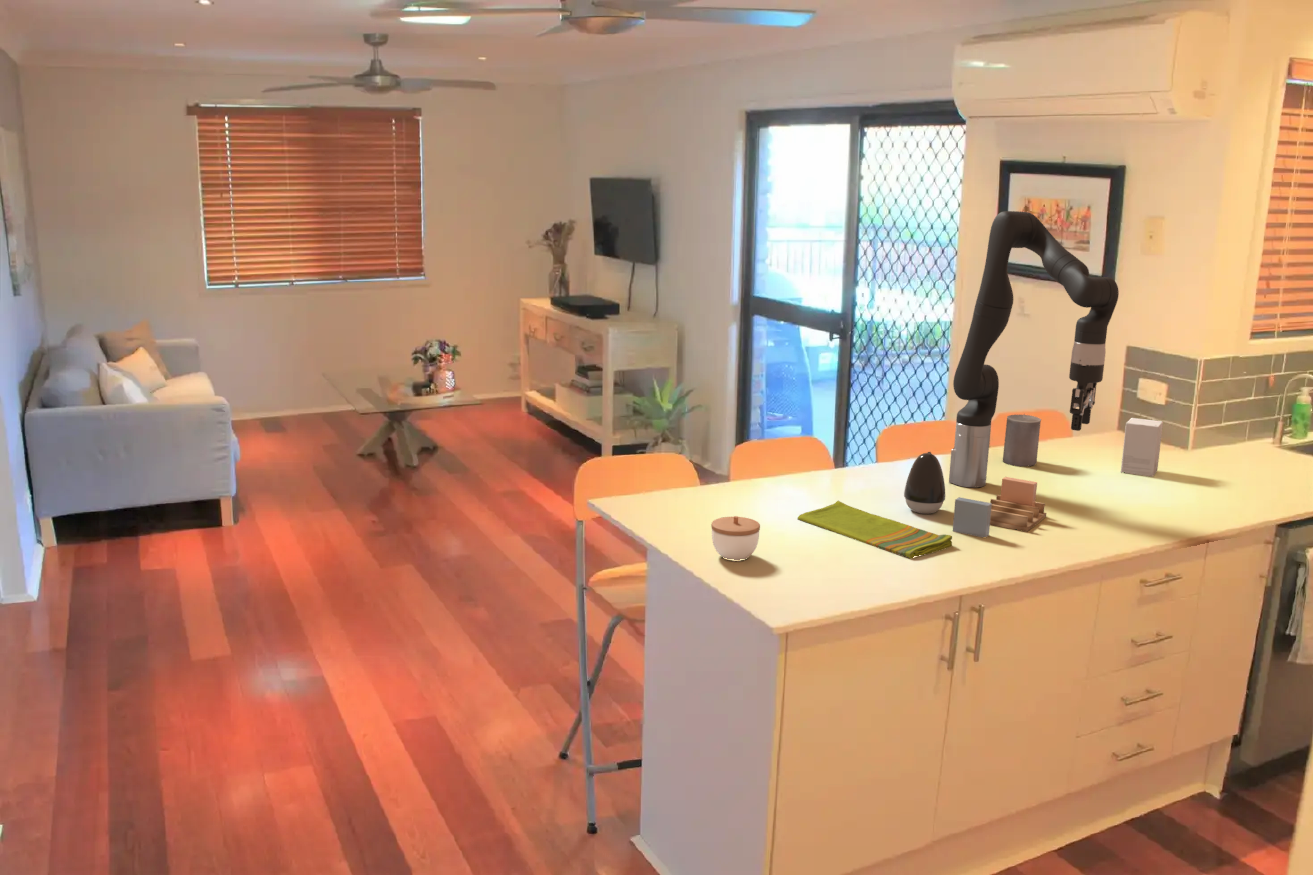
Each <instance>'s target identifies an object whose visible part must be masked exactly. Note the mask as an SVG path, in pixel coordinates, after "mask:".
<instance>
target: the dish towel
mask: <svg viewBox="0 0 1313 875" xmlns="http://www.w3.org/2000/svg"><path fill="white" fill-rule="evenodd" d="M797 520H798V521H802V522H804V523H807V524H810V525H813V526H816V527H818V528H822V529H825V530H827V529H828V531H830V532H833V533H835V532H836V534H839V535H841V534H842V536H845V537H847V538H850V539H852V538H853V539H852V540H855V539H856V540H855V541H858V542H861V543H864V544H867V545H870V546H873V547H875V546H876V547H875V548H878V547H879V549H881V550H884V551H887V552H889V553H892V552H893V554H895V553H896V555H898V554H900V555H899V556H901V555H903V556H902V557H905V556H907V557H906V558H908V557H909V558H908V559H910V558H912V559H914V558H913V557H914V556H919V555H923V556H925V555H924V554H926V555H929V554H933V553H936V552H939V550H940V551H943V550H945V548H946V549H949V548H952V547H953V542H952V540H953V535H951V534H937V533H934V532H930V531H927V530H924V529H921V528H918V527H914V526H912V525H909V524H905V523H901V522H899V521H896V520H894V519H891V518H887V517H883V516H880V515H876V514H873V513H870V512H868V511H864V510H862V509H859V508H857V507H854V506H851V505H848V504H846V503H844V502H842V501H840V500H836V501H835V503H833V504H829V505H826V506H824V507H821V508H818V509H813V510H811V511H807V512H803V513H801V514H799V515H798V517H797ZM951 546H952V547H951ZM942 549H943V550H942ZM932 552H933V553H932Z"/></svg>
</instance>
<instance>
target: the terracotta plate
mask: <svg viewBox="0 0 1313 875" xmlns="http://www.w3.org/2000/svg"><path fill="white" fill-rule="evenodd" d="M1037 489H1038V482H1037V481H1032V480H1026V479H1020V478H1014V477H1011V476H1010V477H1009V476H1005V477H1003V478H1002V479H1001V488H1000V495H1001V497H1000V500H1001V501H1006V502H1011V503H1017V504H1022V505H1028V506H1033V507H1035V502H1036V499H1037Z"/></svg>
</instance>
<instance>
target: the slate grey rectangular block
mask: <svg viewBox="0 0 1313 875" xmlns="http://www.w3.org/2000/svg"><path fill="white" fill-rule="evenodd" d="M991 507H992V503H990V502H987V501H981V500H976V499H971V498H970V499H969V498H965V497H961V496H959V497H957V498H956V499H954V510H953V523H952V532H954V533H958V534H964V535H968V534H969V535H968V536H972V537H973V536H975V537H979V538H983V537H986V538H987V537H990V526H991V525H990V518H991Z"/></svg>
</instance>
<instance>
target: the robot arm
mask: <svg viewBox="0 0 1313 875" xmlns="http://www.w3.org/2000/svg"><path fill="white" fill-rule="evenodd" d="M990 226H991V227H990V230H989V237H988V243H987V251H986V257H985V258H986V259H985V263H984V268H983V274H982V276H981V277H982V278H981V283H980V286H979V291H978V294H977V296H976V300H975V303H974V304H975V305H974V309H973V313H972V314H973V315H972V318H971V322H970V326H969V329H968V334H967V338H966V340H965V345H964V348H963V349H962V350H963V351H962V353H961V356H960V358H959V361H958V364H957V366H956V369H955V373H954V376H953V384H952V385H953V391H954V393H955V395H956V397H958V398H959V399H961V400H963V401H967V402H966V404H965V405H964V406H963V407H962V408H961V409H959V410H958V412H957V413H956V420H955V421H956V422H955V433H954V445H953V446H954V447H953V448H952V449H951V451H950V460H949V461H950V463H949V477H948V483H951V484H953V485H956V486H959V487H966V488H982V487H985V486H986V484H987V483H986V482H987V472H988V464H989V454H990V453H989V450H990V439H991V427H992V419H993V417H994V415H995V413H996V409H997V402H998V395H999V388H1000V386H999V385H1000V380H999V376H998V372H997V371H996V369H995V368H994V367H993V366H992V365H989V364H985V362H986V359H987V356H988V354H989V352H990V350H991V349H992V348H993V346H994V345H995V343H996V342H997V340H998V339H999V338H1000V336H1001V335H1002V333H1003V332H1004V330H1005V329H1006V327H1007V325H1008V323H1009V320H1010V317H1011V312H1012V309H1013V305H1014V292H1013V289H1012V284H1011V280H1010V278H1009V273H1008V272H1009V271H1008V264H1009V260H1010V255H1011V252H1012V249H1024V248H1025V249H1027V250H1029V251H1032V252H1033V253H1035V254H1036V255H1038V256H1039V257H1040V259H1041V264H1042V266H1043V268H1044V270H1045V271H1046V273H1047V274H1048V275H1049V276H1050V277H1052V278H1053V279H1054V280H1055V281H1056V282H1057V283H1059V284H1060V285H1061V286H1063V289H1064V290H1065V292H1066V293H1067V294H1068V297H1069V298H1070V300H1071V301H1072V302H1073V303H1074V304H1076V305H1077V306H1080V307H1081V308H1088V309H1089V308H1090V310H1089V312H1088V313H1087V314H1086V315H1085V316H1081V317H1080V318H1078V320H1077V321H1076V324H1075V332H1074V341H1073V345H1072V350H1071V359H1070V366H1069V375H1068V378H1069V380H1071V381H1072V382H1073V381H1074V382H1076V383H1077V384H1076V387H1073V388H1072V390H1071V400H1070V408H1069V413H1070V414H1071V415H1072V416H1071V425H1070V426H1071V427H1070V429H1071V430H1072V431H1077V432H1080V431H1082V424H1083V425H1089V424H1090V422H1091V413H1092V409H1093V406H1095V404H1096V400H1095V399H1096V391H1097V385H1098V383H1101V382H1102V381H1103V378H1104V372H1105V370H1104V369H1105V361H1106V343H1107V342H1106V340H1107V334H1108V327H1109V323H1110V321H1111V319H1112V316H1113V314H1114V312H1115V308H1116V306H1117V303H1118V300H1119V292H1120V291H1119V286H1118V283H1117V282H1116V281H1115V279H1113V278H1111V277H1107V276H1100V277H1099V276H1098V277H1097V276H1096V277H1090V270H1089V267H1088V266H1087V265H1086V264H1085V263H1084V262H1083V261H1081V260H1080V259H1079V258H1078V257H1076V256H1075V255H1074V254H1073V253H1071V252H1070V251H1069V250H1067V249H1066V248H1065V247H1064V246H1063V245H1062V244H1061V243H1060V242H1059V241H1058V240H1057V239H1056V238H1055V237H1054V236H1053V235H1052V233H1051V232H1050V231H1049V230H1048V229H1047V227H1046V226H1045V224H1043V223H1042V221H1041V220H1040V219H1038V217H1037V216H1036V215H1034V214H1033V213H1031V212H1029V211H1019V210H1018V211H1014V210H1013V211H1010V210H1007V211H1006V210H1004V211H1001V212H999V213H998V214H997V215H996V216H995V218H994V219H993V221H992V224H991V225H990ZM1077 407H1078V408H1077Z"/></svg>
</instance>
